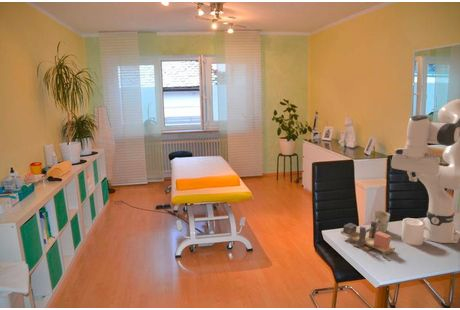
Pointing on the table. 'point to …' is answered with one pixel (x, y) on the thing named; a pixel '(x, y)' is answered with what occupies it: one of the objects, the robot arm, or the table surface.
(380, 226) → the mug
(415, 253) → the table surface
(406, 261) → the table surface
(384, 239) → the salmon red rectangular block
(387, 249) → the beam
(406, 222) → the mug
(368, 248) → the stand
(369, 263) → the table surface
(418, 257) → the table surface
